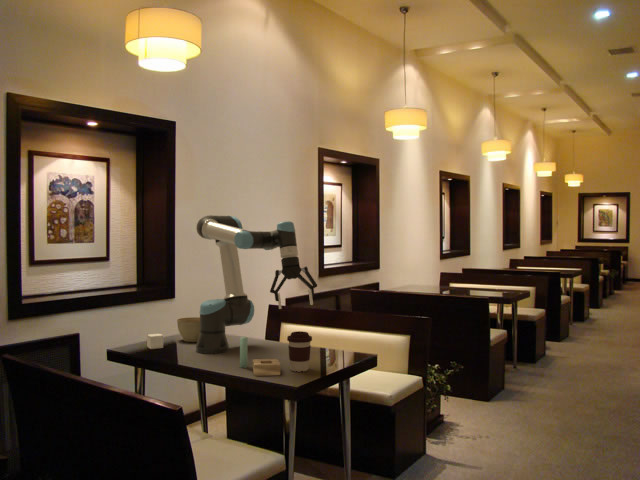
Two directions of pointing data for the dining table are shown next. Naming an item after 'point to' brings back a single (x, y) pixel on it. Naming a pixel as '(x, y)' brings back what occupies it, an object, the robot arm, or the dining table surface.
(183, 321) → the planter bowl
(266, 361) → the hole block
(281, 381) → the dining table surface
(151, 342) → the cream cube
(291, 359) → the coffee cup
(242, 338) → the peg
